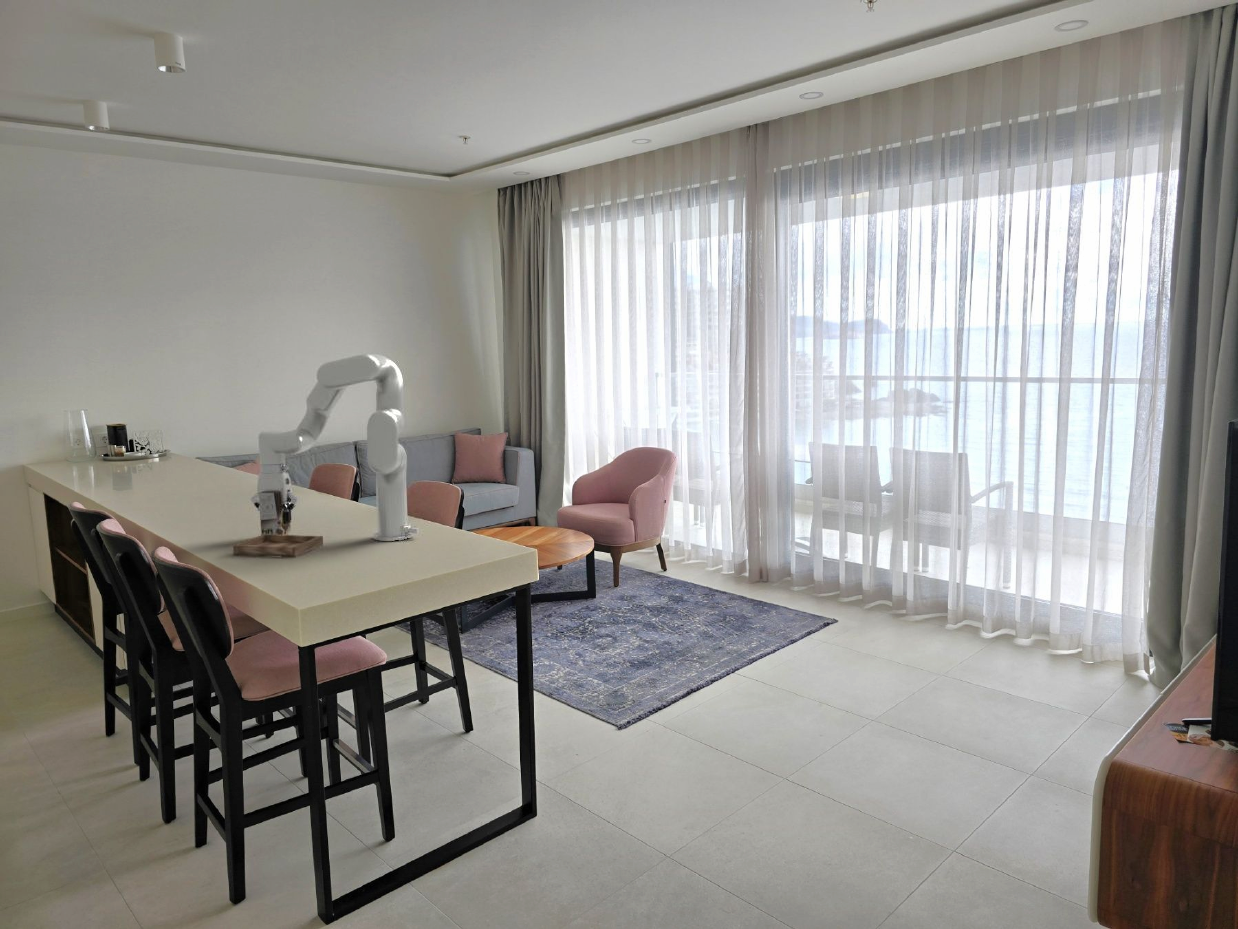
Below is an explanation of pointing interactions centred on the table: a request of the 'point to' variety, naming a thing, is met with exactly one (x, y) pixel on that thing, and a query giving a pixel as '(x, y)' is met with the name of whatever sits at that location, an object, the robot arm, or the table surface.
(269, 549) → the tray
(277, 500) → the coffee box
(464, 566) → the table surface
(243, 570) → the table surface
